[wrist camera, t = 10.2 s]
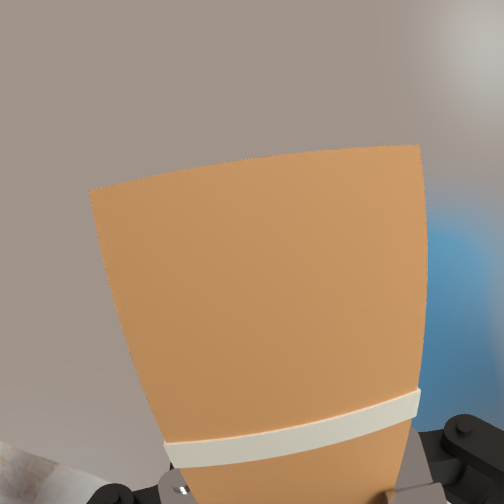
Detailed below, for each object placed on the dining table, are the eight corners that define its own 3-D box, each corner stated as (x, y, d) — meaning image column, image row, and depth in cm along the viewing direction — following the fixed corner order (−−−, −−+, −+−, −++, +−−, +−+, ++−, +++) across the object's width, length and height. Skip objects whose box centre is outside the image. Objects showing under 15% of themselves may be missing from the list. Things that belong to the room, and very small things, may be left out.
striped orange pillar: (326, 508, 13) (305, 164, 9) (353, 589, 7) (424, 144, 3) (256, 522, 13) (169, 185, 9) (268, 607, 7) (83, 191, 3)
